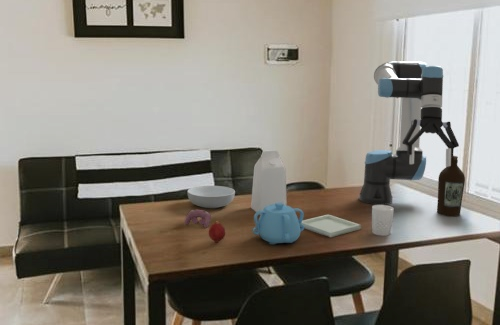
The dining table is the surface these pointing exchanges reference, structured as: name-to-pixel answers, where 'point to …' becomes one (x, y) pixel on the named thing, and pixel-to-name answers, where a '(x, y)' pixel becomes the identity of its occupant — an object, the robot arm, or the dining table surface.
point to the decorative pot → (278, 223)
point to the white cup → (382, 219)
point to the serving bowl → (211, 196)
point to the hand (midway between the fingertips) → (429, 165)
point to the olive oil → (450, 189)
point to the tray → (330, 225)
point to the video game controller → (198, 213)
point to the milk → (268, 181)
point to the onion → (216, 232)
